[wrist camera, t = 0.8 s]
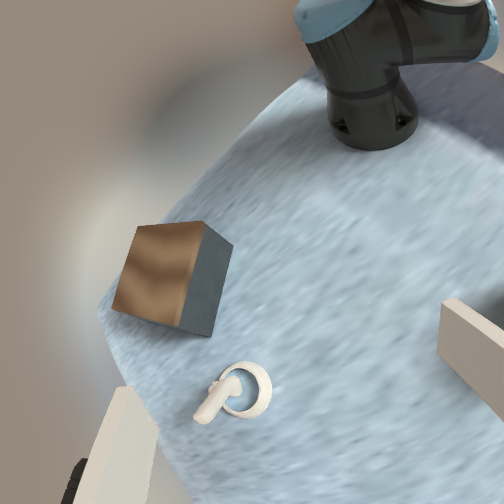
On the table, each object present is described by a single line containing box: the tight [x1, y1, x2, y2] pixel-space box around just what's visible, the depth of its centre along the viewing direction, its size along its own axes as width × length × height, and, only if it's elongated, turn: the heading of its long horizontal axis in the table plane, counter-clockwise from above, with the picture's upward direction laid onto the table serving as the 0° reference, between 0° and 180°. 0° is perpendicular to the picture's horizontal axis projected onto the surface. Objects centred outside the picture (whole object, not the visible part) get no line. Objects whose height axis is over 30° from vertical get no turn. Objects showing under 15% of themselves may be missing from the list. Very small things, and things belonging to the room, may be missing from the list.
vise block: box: [111, 221, 233, 337], centre depth 43 cm, size 14×14×8 cm
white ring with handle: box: [193, 361, 272, 425], centre depth 31 cm, size 8×12×7 cm
